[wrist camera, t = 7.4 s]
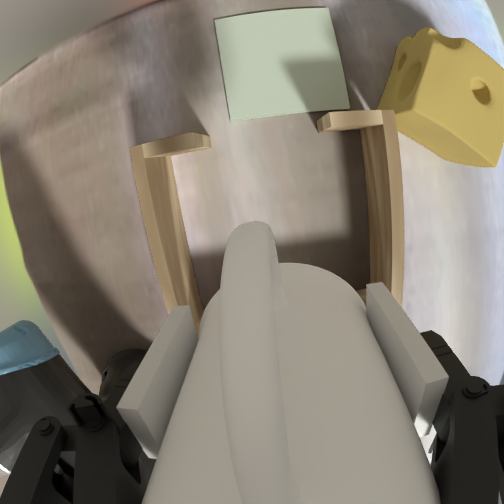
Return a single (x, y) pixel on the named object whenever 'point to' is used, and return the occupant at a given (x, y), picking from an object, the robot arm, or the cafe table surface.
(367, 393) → the mug
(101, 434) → the robot arm
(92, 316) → the cafe table surface
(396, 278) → the frame
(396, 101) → the cheese
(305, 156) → the cafe table surface
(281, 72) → the mat
